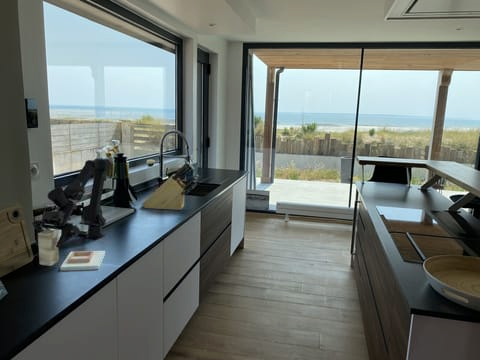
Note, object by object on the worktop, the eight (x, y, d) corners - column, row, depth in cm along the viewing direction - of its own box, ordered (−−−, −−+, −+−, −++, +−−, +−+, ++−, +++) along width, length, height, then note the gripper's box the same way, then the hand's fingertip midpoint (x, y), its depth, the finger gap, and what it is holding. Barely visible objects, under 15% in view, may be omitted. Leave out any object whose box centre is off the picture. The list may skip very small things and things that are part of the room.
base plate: (70, 254, 157) (70, 248, 157) (105, 253, 160) (104, 247, 160) (60, 270, 142) (60, 263, 141) (98, 269, 145) (98, 262, 144)
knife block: (195, 211, 235) (196, 164, 230) (141, 208, 236) (141, 161, 230) (197, 207, 246) (199, 161, 241) (146, 204, 247) (146, 159, 241)
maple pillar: (48, 259, 152) (46, 227, 149) (59, 261, 151) (57, 228, 148) (39, 264, 147) (37, 231, 144) (50, 265, 146) (49, 232, 143)
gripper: (33, 200, 150) (14, 234, 141) (74, 204, 147) (57, 239, 138) (47, 214, 159) (30, 246, 150) (86, 218, 156) (71, 252, 147)
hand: (46, 246), depth 146 cm, fingers open, 9 cm apart
